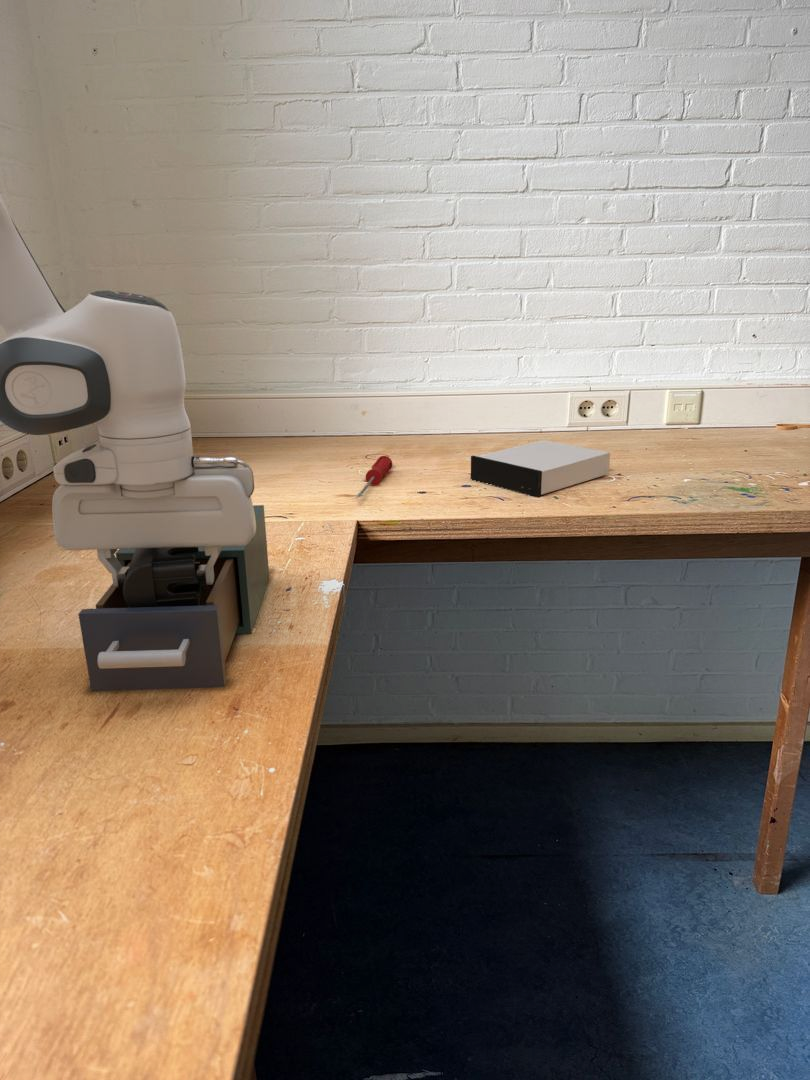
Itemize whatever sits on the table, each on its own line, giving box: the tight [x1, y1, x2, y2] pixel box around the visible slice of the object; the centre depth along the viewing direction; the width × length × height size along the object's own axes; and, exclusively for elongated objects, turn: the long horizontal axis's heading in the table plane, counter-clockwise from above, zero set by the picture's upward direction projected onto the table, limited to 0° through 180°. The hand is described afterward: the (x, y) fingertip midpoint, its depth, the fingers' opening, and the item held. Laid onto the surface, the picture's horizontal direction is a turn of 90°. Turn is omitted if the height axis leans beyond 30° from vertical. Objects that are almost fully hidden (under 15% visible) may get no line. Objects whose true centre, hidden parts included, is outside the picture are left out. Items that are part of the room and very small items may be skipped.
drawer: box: [78, 557, 241, 692], centre depth 86 cm, size 21×14×9 cm, turn 2°
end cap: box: [123, 547, 202, 608], centre depth 85 cm, size 10×7×7 cm
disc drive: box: [470, 439, 611, 498], centre depth 161 cm, size 18×22×5 cm
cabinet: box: [115, 504, 270, 635], centre depth 103 cm, size 18×15×11 cm
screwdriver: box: [357, 455, 393, 498], centre depth 156 cm, size 4×25×4 cm, turn 170°
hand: (164, 584), depth 86 cm, fingers closed on end cap, 7 cm apart
